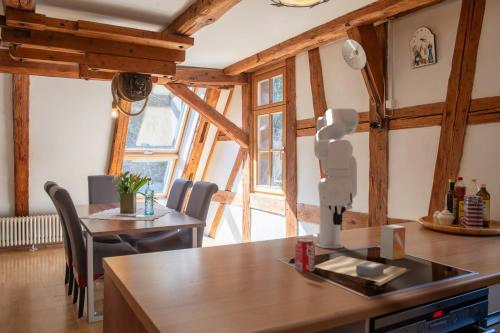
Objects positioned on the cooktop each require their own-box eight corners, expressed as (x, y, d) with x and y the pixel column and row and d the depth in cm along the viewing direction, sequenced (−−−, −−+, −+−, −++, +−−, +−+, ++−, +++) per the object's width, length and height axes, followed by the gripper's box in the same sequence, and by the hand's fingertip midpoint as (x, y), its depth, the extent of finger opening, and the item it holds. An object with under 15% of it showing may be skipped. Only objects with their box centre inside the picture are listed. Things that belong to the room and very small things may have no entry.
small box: (392, 260, 165) (393, 228, 165) (379, 257, 170) (380, 226, 170) (405, 257, 170) (405, 226, 169) (392, 254, 175) (393, 224, 174)
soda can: (316, 271, 149) (316, 238, 148) (312, 276, 142) (313, 242, 142) (297, 269, 151) (297, 236, 151) (292, 274, 144) (293, 240, 144)
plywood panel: (312, 269, 150) (312, 266, 150) (342, 258, 167) (342, 255, 167) (379, 285, 133) (380, 282, 133) (405, 271, 149) (405, 268, 149)
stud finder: (356, 274, 142) (356, 264, 141) (367, 269, 147) (368, 260, 147) (372, 277, 137) (372, 268, 137) (383, 273, 143) (383, 264, 143)
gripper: (315, 173, 149) (314, 223, 150) (352, 175, 139) (351, 228, 140) (325, 172, 155) (324, 221, 155) (362, 174, 145) (361, 225, 146)
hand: (337, 224), depth 148 cm, fingers closed
